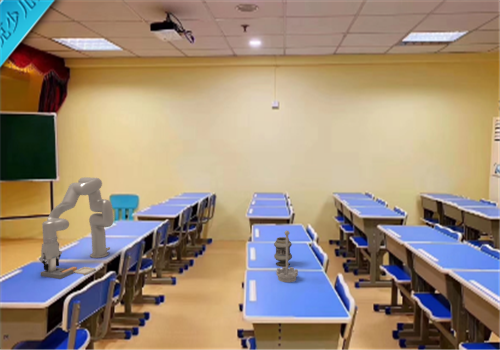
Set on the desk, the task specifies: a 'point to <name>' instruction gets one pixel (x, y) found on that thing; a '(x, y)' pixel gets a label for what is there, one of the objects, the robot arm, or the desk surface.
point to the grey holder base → (57, 273)
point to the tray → (85, 270)
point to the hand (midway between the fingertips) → (51, 267)
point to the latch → (70, 269)
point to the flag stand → (286, 273)
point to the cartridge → (52, 264)
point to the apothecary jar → (282, 251)
